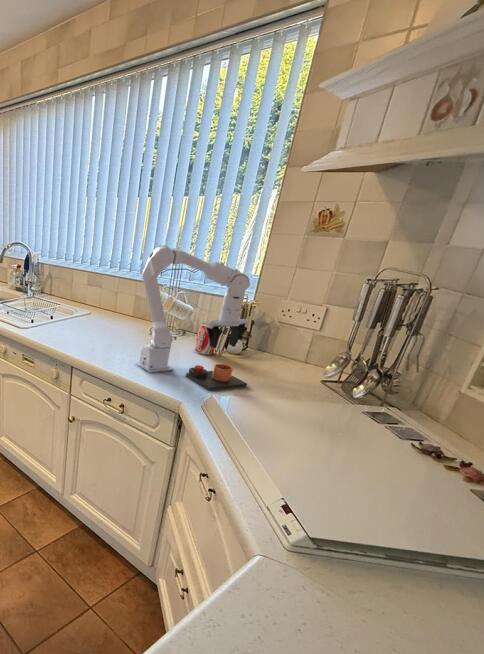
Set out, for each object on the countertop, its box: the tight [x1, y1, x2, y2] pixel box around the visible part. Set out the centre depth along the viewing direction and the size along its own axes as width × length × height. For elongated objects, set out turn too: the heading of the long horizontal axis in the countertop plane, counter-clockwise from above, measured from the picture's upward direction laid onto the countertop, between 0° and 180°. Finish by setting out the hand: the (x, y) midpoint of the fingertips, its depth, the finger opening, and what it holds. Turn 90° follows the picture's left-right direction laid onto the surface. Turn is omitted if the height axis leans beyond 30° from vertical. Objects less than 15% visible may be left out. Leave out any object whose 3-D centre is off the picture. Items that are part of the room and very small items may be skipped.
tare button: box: [194, 364, 205, 372], centre depth 137 cm, size 3×3×2 cm
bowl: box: [212, 363, 234, 382], centre depth 134 cm, size 5×5×4 cm
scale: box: [185, 366, 248, 392], centre depth 136 cm, size 14×13×3 cm
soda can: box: [194, 322, 216, 356], centre depth 160 cm, size 7×7×12 cm
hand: (222, 346), depth 139 cm, fingers open, 7 cm apart
